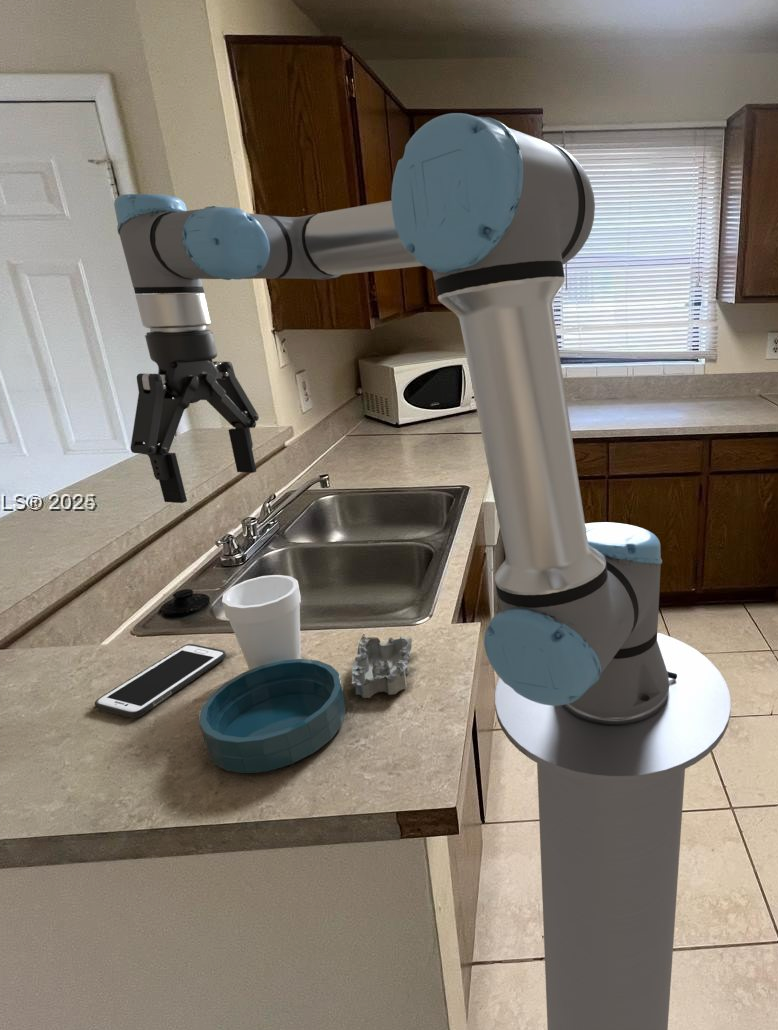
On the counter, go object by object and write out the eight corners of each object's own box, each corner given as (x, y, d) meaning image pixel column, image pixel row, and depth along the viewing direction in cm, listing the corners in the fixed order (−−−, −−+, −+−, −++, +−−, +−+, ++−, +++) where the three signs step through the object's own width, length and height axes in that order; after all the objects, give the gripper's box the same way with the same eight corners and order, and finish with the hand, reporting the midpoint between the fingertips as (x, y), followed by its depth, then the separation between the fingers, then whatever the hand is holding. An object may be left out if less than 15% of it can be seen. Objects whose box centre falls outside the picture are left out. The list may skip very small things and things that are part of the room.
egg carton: (365, 655, 91) (361, 632, 90) (416, 652, 92) (413, 628, 91) (348, 701, 81) (344, 675, 80) (406, 696, 82) (402, 670, 81)
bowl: (368, 696, 82) (363, 665, 80) (299, 785, 68) (291, 749, 66) (264, 684, 85) (257, 654, 83) (176, 767, 70) (166, 732, 69)
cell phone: (229, 656, 91) (228, 650, 91) (136, 720, 78) (134, 714, 77) (189, 648, 93) (188, 642, 93) (92, 709, 80) (90, 702, 80)
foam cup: (232, 695, 83) (211, 611, 78) (251, 656, 91) (233, 578, 87) (306, 685, 84) (290, 603, 80) (318, 648, 93) (304, 572, 88)
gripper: (222, 323, 91) (250, 460, 98) (61, 337, 68) (113, 515, 75) (267, 323, 89) (292, 462, 97) (118, 337, 66) (165, 518, 74)
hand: (214, 485), depth 86 cm, fingers open, 13 cm apart
